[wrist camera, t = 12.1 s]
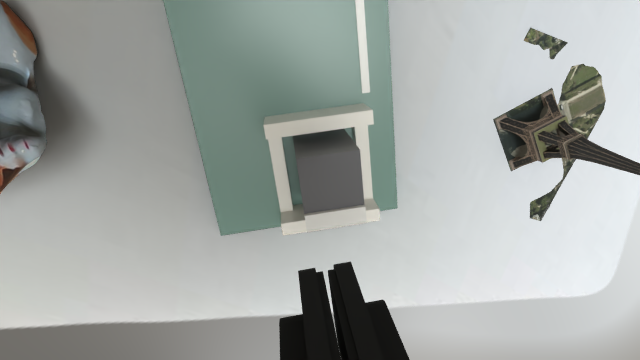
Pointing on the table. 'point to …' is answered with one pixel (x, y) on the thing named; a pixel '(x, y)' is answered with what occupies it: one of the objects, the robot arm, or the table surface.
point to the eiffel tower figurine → (558, 124)
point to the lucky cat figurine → (18, 99)
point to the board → (284, 99)
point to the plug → (330, 179)
